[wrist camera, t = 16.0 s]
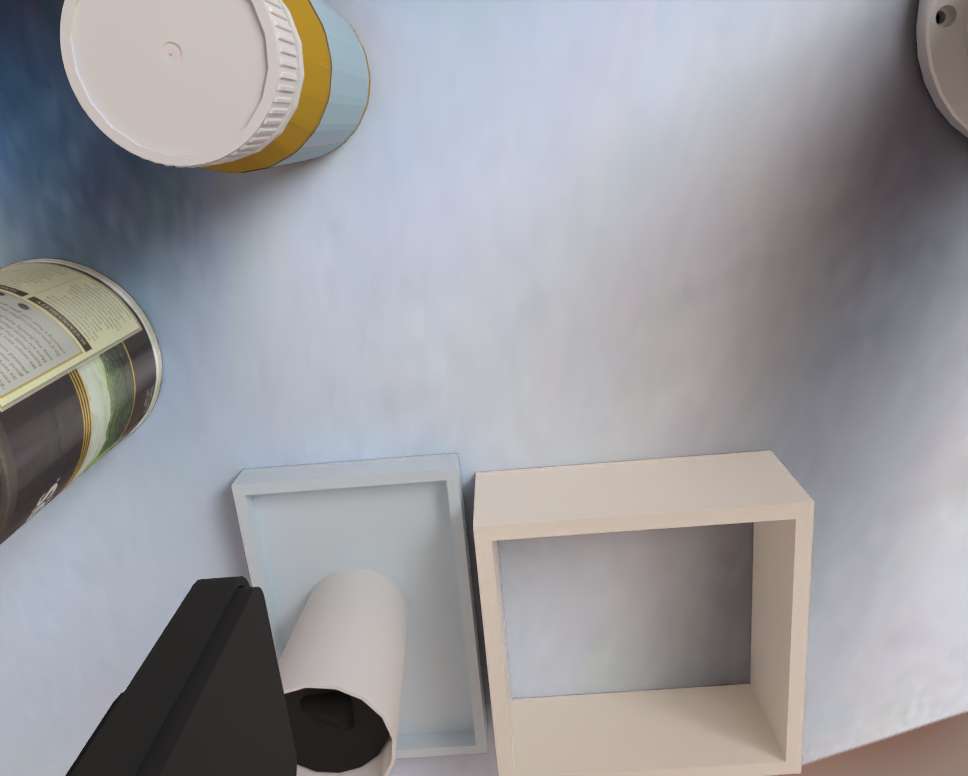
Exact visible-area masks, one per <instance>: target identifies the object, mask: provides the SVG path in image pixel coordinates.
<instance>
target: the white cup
mask: <svg viewBox="0 0 968 776" xmlns="http://www.w3.org/2000/svg"><path fill="white" fill-rule="evenodd" d="M408 618H409V607H408V604H407V602H406V600H405V597H404V595H403V593H402V591H401V590H400V589H399V588H398V587H397V586H396V585H395V584H394V583H393V582H392V581H391V580H390V579H389V578H388V577H385V576H383V575H381V574H378V573H376V572H374V571H371V570H369V569H354V568H347V569H344V570H340V571H337V572H334V573H330V574H328V575H327V576H326V577H325V578H323V579H322V580H321V581H320V582H318V583H317V584H316V585H315V586H314V588H313V590H312V592H311V594H310V596H309V598H308V600H307V602H306V605H305V607H304V609H303V611H302V613H301V615H300V617H299V619H298V622H297V624H296V626H295V628H294V630H293V632H292V634H291V636H290V639H289V641H288V643H287V645H286V647H285V649H284V651H283V653H282V656H281V658H280V660H279V662H278V666H279V671H280V676H281V681H282V685H283V690H284V695H285V700H286V705H287V710H288V715H289V720H290V725H291V730H292V735H293V740H294V745H295V750H296V756H297V774H296V776H388V775H389V773H390V771H391V769H392V768H393V766H394V764H395V759H396V748H397V738H398V727H399V716H400V706H401V695H402V684H403V674H404V663H405V652H406V642H407V631H408Z"/></svg>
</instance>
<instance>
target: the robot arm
mask: <svg viewBox="0 0 968 776" xmlns="http://www.w3.org/2000/svg"><path fill="white" fill-rule="evenodd" d="M937 13H938V14H939V15H940V21H939V22H938V24H937V23H936V18H935V17H936V14H937ZM916 34H917V52H918V59H919V63H920V67H921V71H922V75H923V79H924V83H925V85H926V87H927V89H928V91H929V93H930V95H931V97H932V99H933V101H934V103H935V105H936V107H937V108H938V109H939V110H940V112H941V113H942V114H943V115H944V117H945V118H946V119H947V120H948V122H949V123H950V124H951V125H952V126H953V127H954V128H956V129H957V130H958V131H960V132H961V133H962V134H963V135H965V136H966V137H967V138H968V0H919V8H918V17H917V25H916ZM296 774H297V756H296V750H295V745H294V740H293V735H292V730H291V725H290V720H289V715H288V710H287V705H286V700H285V695H284V690H283V685H282V681H281V676H280V671H279V666H278V661H277V656H276V651H275V646H274V641H273V636H272V631H271V626H270V621H269V616H268V611H267V606H266V601H265V597H264V593H263V591H262V589H261V588H260V587H250V585H249V583H248V581H247V579H246V578H244V577H243V576H240V577H226V578H212V579H201V580H197V581H196V583H195V584H194V585H193V586H192V588H191V589H190V591H189V593H188V594H187V596H186V597H185V599H184V600H183V602H182V603H181V605H180V606H179V608H178V610H177V611H176V613H175V614H174V616H173V617H172V619H171V620H170V622H169V624H168V625H167V627H166V628H165V630H164V631H163V633H162V634H161V636H160V637H159V639H158V641H157V642H156V644H155V645H154V647H153V648H152V650H151V651H150V653H149V655H148V656H147V658H146V659H145V661H144V662H143V664H142V665H141V667H140V668H139V670H138V672H137V673H136V675H135V676H134V678H133V679H132V681H131V682H130V684H129V686H128V687H127V689H126V690H125V692H123V693H121V694H120V695H119V696H118V698H117V699H116V700H115V701H114V702H113V704H112V705H111V707H110V708H109V710H108V711H107V713H106V714H105V716H104V717H103V719H102V721H101V722H100V724H99V725H98V727H97V728H96V730H95V731H94V733H93V734H92V736H91V737H90V739H89V740H88V742H87V743H86V745H85V747H84V748H83V750H82V751H81V753H80V754H79V756H78V757H77V759H76V760H75V762H74V763H73V765H72V766H71V768H70V770H69V771H68V773H67V774H66V776H296Z"/></svg>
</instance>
